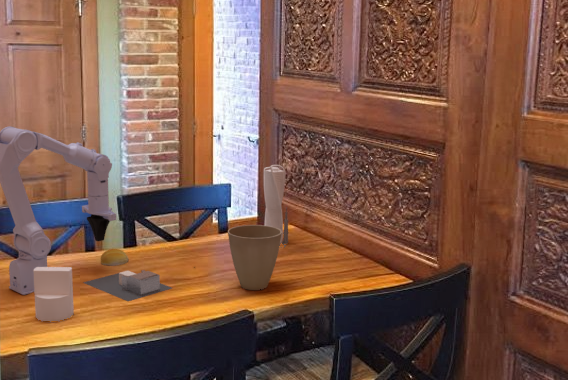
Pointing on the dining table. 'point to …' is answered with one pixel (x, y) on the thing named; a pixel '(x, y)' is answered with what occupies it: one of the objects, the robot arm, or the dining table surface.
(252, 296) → the dining table surface
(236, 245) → the plant pot
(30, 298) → the dining table surface
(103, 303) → the dining table surface
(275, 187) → the skyscraper
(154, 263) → the dining table surface
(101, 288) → the mat
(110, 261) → the bread roll
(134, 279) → the end cap
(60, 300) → the base with upright slab
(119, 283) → the pale grey rectangular bar
